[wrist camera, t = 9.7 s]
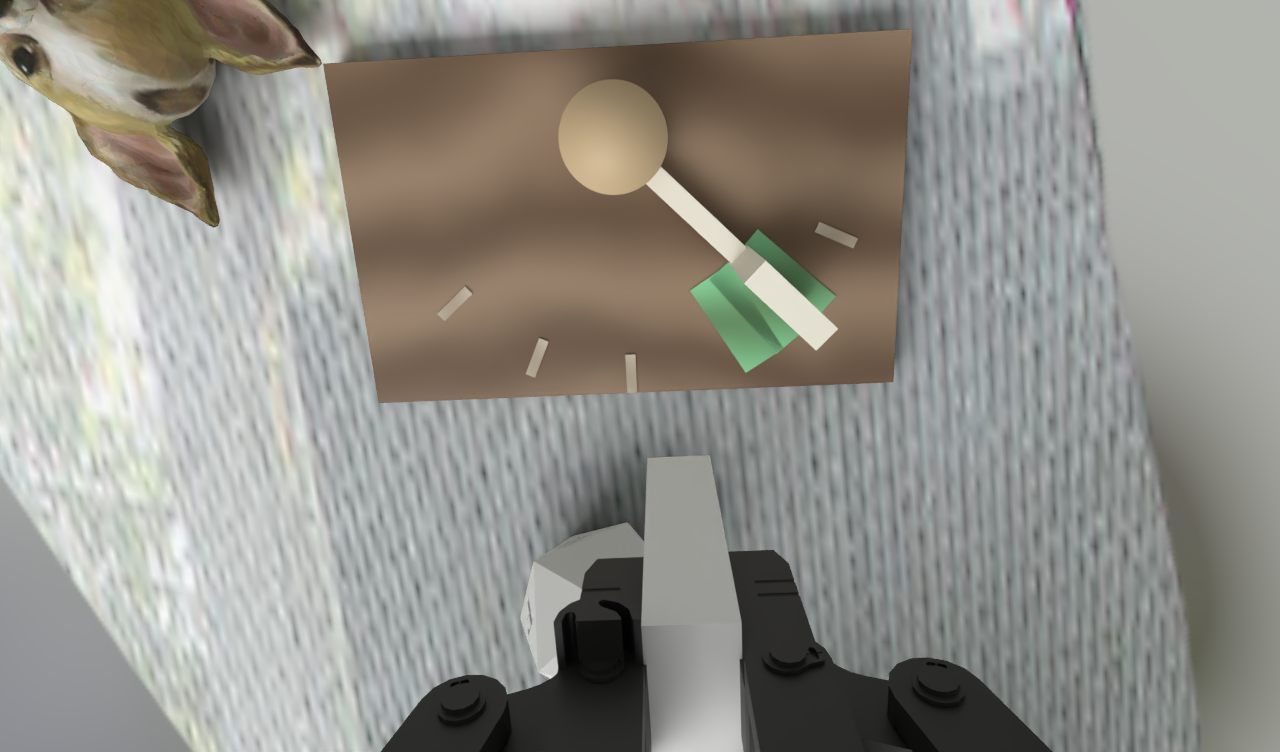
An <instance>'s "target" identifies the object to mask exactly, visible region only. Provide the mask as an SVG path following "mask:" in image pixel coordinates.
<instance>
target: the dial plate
mask: <svg viewBox="0 0 1280 752" xmlns="http://www.w3.org/2000/svg"><path fill="white" fill-rule="evenodd" d="M911 44H912V29H903V30H886V31H869V32H852V33H835V34H818V35H801V36H785V37H768V38H751V39H734V40H717V41H700V42H683V43H666V44H650V45H633V46H616V47H599V48H582V49H565V50H548V51H531V52H515V53H498V54H481V55H464V56H447V57H430V58H413V59H396V60H380V61H363V62H346V63H329V64H323V65H324V72H325V78H326V84H327V90H328V96H329V102H330V108H331V114H332V120H333V126H334V133H335V139H336V145H337V151H338V157H339V163H340V169H341V175H342V181H343V187H344V194H345V200H346V206H347V212H348V218H349V224H350V230H351V236H352V242H353V248H354V255H355V261H356V267H357V273H358V279H359V285H360V291H361V297H362V303H363V309H364V316H365V322H366V328H367V334H368V340H369V346H370V352H371V358H372V364H373V370H374V377H375V383H376V389H377V395H378V401H379V403H389V402H414V401H439V400H463V399H488V398H513V397H537V396H562V395H587V394H612V393H637V392H661V391H686V390H710V389H735V388H760V387H784V386H809V385H834V384H859V383H883V382H893V377H894V359H895V340H896V322H897V303H898V285H899V266H900V248H901V229H902V211H903V192H904V174H905V155H906V137H907V118H908V100H909V81H910V63H911ZM608 79H617V80H624V81H627V82H631V83H633V84H635V85H637V86H639V87H641V88H642V89H644V90H645V91H646V92H647V93H649V94H650V95H651V96H652V97H653V99H654V100H655V101H656V102H657V104H658V105H659V107H660V109H661V111H662V113H663V115H664V118H665V121H666V125H667V132H668V144H667V151H666V154H665V158H664V160H663V163H662V165H661V167H662V168H663V169H664V170H665V171H666V172H667V173H668V174H669V175H670V176H671V177H672V178H674V179H675V180H676V181H677V182H678V183H679V184H680V185H681V186H682V187H683V188H684V189H685V190H686V191H687V192H688V193H689V194H690V195H692V196H693V197H694V198H695V199H696V200H697V201H698V202H699V203H700V204H701V205H702V206H703V207H704V208H705V209H706V210H707V211H709V212H710V213H711V214H712V215H713V216H714V217H715V218H716V219H717V220H718V221H719V222H720V223H721V224H722V225H723V226H724V227H726V228H727V229H728V230H729V231H730V232H731V233H732V234H733V235H734V236H735V237H736V238H737V239H738V240H739V241H740V242H741V243H742V244H744V245H745V246H746V245H748V246H749V247H750V248H751V249H753V250H754V251H755V252H756V253H757V254H759V255H760V256H761V257H762V258H763V259H765V260H766V261H767V262H768V263H769V264H770V265H771V266H772V267H773V268H774V269H775V270H776V271H778V272H779V273H780V274H781V275H782V276H783V277H784V278H785V279H786V280H787V281H788V282H789V283H790V284H791V285H792V286H793V287H794V288H796V289H797V290H798V291H799V292H800V293H801V294H802V295H803V296H804V297H805V298H806V299H807V300H808V301H809V302H810V303H811V304H812V305H814V306H815V307H816V308H817V309H818V310H819V311H820V312H821V313H822V314H823V315H824V316H825V317H826V318H827V319H828V320H829V321H830V322H832V323H833V324H834V325H835V326H836V327H837V328H838V330H837V331H836V332H835V333H834V334H833V335H832V336H831V337H830V338H829V339H828V340H827V341H826V342H825V343H824V344H823V345H821V346H820V347H819V348H818V349H817V350H815V349H814V348H813V347H812V346H811V345H810V344H808V343H807V342H806V341H805V340H804V339H803V338H802V337H801V336H800V335H799V334H798V333H797V332H796V331H794V330H793V329H792V328H791V327H790V326H789V325H788V324H787V323H786V322H785V321H784V320H783V319H782V318H781V317H779V316H778V315H777V314H776V313H775V312H774V311H773V310H772V309H771V308H770V307H769V306H768V305H767V304H765V303H764V302H763V301H762V300H761V299H760V298H759V297H758V296H757V295H756V294H755V293H754V292H753V291H751V290H750V289H749V288H748V287H747V286H746V285H745V284H744V283H743V282H742V280H741V279H740V278H739V276H738V275H737V274H736V272H735V271H734V270H733V269H732V267H731V266H730V265H729V263H730V262H729V261H728V260H727V259H726V258H725V257H724V256H723V255H722V254H721V253H719V252H718V251H717V250H716V249H715V248H714V247H713V246H712V245H711V244H710V243H709V242H708V241H707V240H706V239H704V238H703V237H702V236H701V235H700V234H699V233H698V232H697V231H696V230H695V229H694V228H693V227H692V226H691V225H689V224H688V223H687V222H686V221H685V220H684V219H683V218H682V217H681V216H680V215H679V214H678V213H677V212H675V211H674V210H673V209H672V208H671V207H670V206H669V205H668V204H667V203H666V202H665V201H664V200H663V199H662V198H660V197H659V196H658V195H657V194H656V193H655V192H654V191H653V190H652V189H651V188H650V187H649V186H648V185H647V184H645V185H644V186H642V187H640V188H639V189H637V190H635V191H632V192H630V193H626V194H620V195H607V194H601V193H598V192H595V191H593V190H590V189H588V188H587V187H585V186H584V185H582V184H581V183H580V182H578V181H577V180H576V179H575V178H574V177H573V176H572V174H571V173H570V172H569V170H568V169H567V167H566V165H565V163H564V161H563V158H562V156H561V152H560V148H559V139H558V133H559V125H560V121H561V118H562V115H563V112H564V110H565V108H566V106H567V105H568V103H569V102H570V100H571V99H572V98H573V97H574V96H575V95H576V94H577V93H578V92H579V91H580V90H582V89H583V88H585V87H586V86H588V85H590V84H592V83H595V82H598V81H601V80H608Z"/></svg>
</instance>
